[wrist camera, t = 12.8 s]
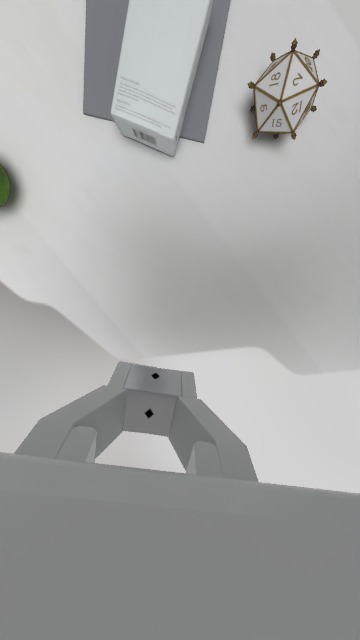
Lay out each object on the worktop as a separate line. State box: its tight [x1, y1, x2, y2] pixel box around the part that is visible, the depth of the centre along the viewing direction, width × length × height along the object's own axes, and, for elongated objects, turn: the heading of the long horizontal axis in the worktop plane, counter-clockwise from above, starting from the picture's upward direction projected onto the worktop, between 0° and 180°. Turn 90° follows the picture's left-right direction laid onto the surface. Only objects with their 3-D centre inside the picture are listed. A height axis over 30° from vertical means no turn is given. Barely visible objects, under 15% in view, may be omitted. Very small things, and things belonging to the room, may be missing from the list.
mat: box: [83, 0, 230, 143], centre depth 28 cm, size 17×17×1 cm
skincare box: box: [111, 0, 213, 156], centre depth 26 cm, size 8×6×15 cm
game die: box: [248, 38, 327, 140], centre depth 27 cm, size 9×8×10 cm
